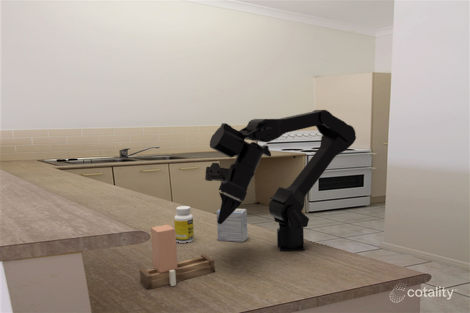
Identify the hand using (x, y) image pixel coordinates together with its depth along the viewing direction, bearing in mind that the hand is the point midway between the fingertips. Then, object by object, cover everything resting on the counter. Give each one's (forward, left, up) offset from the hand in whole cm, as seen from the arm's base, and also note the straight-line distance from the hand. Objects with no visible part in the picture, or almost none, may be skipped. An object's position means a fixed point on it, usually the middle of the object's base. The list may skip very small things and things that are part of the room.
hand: (219, 223), depth 100 cm
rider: (+12, +10, -8) cm, 17 cm away
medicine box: (-2, -17, -10) cm, 20 cm away
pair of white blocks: (+11, +10, -10) cm, 18 cm away
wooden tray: (+9, +9, -10) cm, 16 cm away
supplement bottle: (+12, -17, -10) cm, 23 cm away
